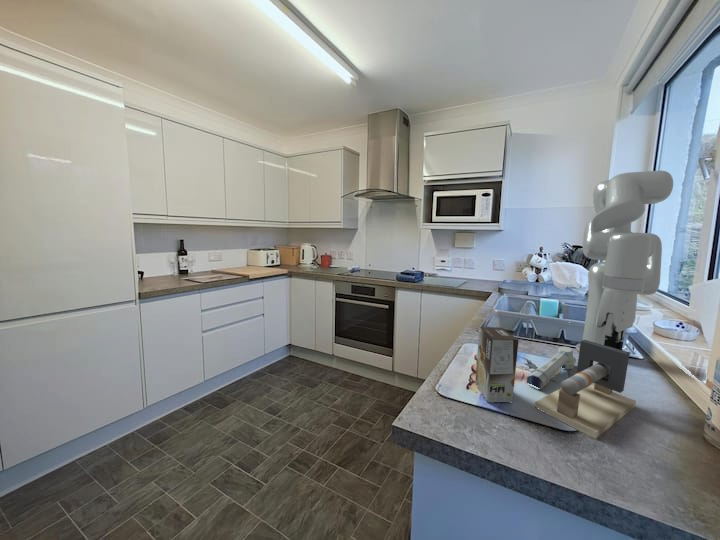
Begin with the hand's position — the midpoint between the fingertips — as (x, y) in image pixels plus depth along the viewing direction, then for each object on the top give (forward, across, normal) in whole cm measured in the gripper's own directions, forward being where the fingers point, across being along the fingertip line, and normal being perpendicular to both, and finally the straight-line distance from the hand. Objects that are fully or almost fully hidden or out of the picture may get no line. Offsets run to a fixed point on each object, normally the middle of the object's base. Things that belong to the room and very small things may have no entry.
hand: (611, 355), depth 75 cm
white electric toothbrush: (+11, +2, -12) cm, 17 cm away
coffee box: (+11, +26, -15) cm, 32 cm away
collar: (+6, +6, 0) cm, 8 cm away
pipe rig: (+11, +12, 0) cm, 16 cm away
